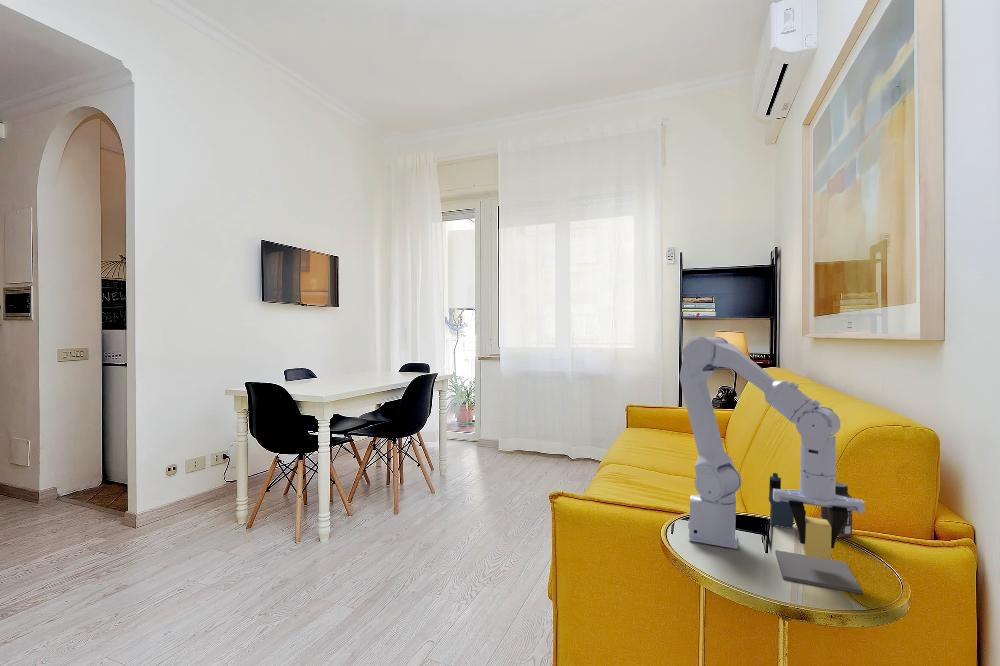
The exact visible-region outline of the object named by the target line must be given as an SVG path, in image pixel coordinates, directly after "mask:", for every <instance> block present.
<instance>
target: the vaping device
mask: <svg viewBox="0 0 1000 666" xmlns="http://www.w3.org/2000/svg"><path fill="white" fill-rule="evenodd" d="M773 489H782V478H781V477H780V476H779V473H777V472H773V473H772V475H770V476H769V490H768V501H769V503H770V505H769V512H770V513H769V523H770V522H771V524H772V525H771V524H770V525H771V526H774V525H778V526H777V527H780V526H783V527H782V528H787V527H792V528H793V526H794V524H795V523H794V522H795V519H794V516H793V513H792V511H791V509H790V506H789V504H788V502H785V501H780V502H777V501H774V500H773Z"/></svg>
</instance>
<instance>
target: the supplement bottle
mask: <svg viewBox="0 0 1000 666" xmlns="http://www.w3.org/2000/svg"><path fill="white" fill-rule="evenodd" d="M848 489H849V488H848V484H846V483H843V482H838V481H836V484H835V495H838V496H843V497H848V498H853V496H851V494H849V490H848ZM847 512H848V514H849V517H848V519H847V521H846V522H845V523H844V525H843V526H842V528H841V529H840V531H839V533H838V536H839V537H838V538H841V537H842V538H843V539H844V538H845V539H846V538H850V537H852V535H853V534H852V533H853V511H852V510H847ZM820 519H825V520H827V521H828V510H827V507H822V506H820Z"/></svg>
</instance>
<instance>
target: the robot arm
mask: <svg viewBox="0 0 1000 666" xmlns="http://www.w3.org/2000/svg"><path fill="white" fill-rule="evenodd" d="M681 353H682V362H681V367H680V372H679V381H680V386H681V390H682V393H683V394H682V395H683V397H684V401H685V402H684V403H685V406H686V409H687V414H688V418H689V422H690V425H691V430H692V434H693V438H694V441H695V446H696V450H697V453H698V456H697V459H696V461H695V464H694V471H695V478H694V486H695V487H694V488H695V489H696V491H697V493H698V494H696V495H695V494H690V498H689V519H688V522H687V529H689V530H688V531H689V532H688V534H689V535H688V541H690V542H695V543H701V544H706V545H712V546H717V547H718V546H719V547H724V548H730V549H734V550H737V549H739V544H738V537H737V535H738V534H736V524H737V523H736V518H737V517H736V515H737V514H736V511H737V510H736V509H737V496H736V492H738V490H739V489H740V488H741V486H742V477H741V474H740V472H739V471H738V470H737V469H736V466H735V465H734V463H733V460H732V458H731V456H730V455H729V454H728V453H727V452H725V448H724V445H723V440H722V436H721V433H720V430H719V425H718V422H717V417H716V414H715V409H714V406H713V402H712V399H711V395H710V389H709V385H708V382H707V381H708V380H709V378H710V376H711V375H712V374H713V373H714V371H715V370H716V369H718V368H719V367H720V368H727V369H731V370H733V371H734V372H736V373H737V374H738V375H740V377H743V378H744V379H745V380H746V381H747V382H749V383H751V384H752V385H753V386H754V387H756V388H757V389H759V390H760V391H762V393H764V399H765V400H764V401H765V402H766V403H767V404H769V405H770V406H771V407H772V408H773V409H775V410H776V411H777V412H778V413H779V414H780V415H782V416H783V417H784V418H786V419H787V420H788V421H790V423H792V424H795V427H796V431H797V433H798V434H799V435H800V448H799V449H800V452H799V453H800V456H799V457H800V459H799V461H800V462H799V489H783V488H781V489H773V500H774V501H777V502H780V501H785V502H788V504H789V506H790V509H791V511H792V513H793V516H794V522H795V525H796V529H797V534H798V540H799V543H800V544H801V545H802V544H805V517H807V516H806V514H807V511H806V509H805V505H809V506H817V507H821V506H822V507H827V510H828V522H829V524H830V525H831V527H832V528H831V549H835V544H836V540H837V538H838V537H837V536H838V533H839V531H840V529H841V528H842V526H843V525H844V523H845V522H846V521H847V519H848V517H849V514H848V512H847V510H852V512H857V513H858V514H859V513H860V514H865V512H866V511H865V510H866V508H865V504H866V503H865V501H863V499H860V498H853V497H852V498H848V497H843V496H838V495H835V484H836V482H837V481H836V479H837V473H836V472H837V449H836V448H837V445H836V443H837V441H836V440H837V437H836V436H835V435H836V434H837V433H838V432H839V431H840V429H841V420H840V417H839V416H838V415H837V414H836V412H835V411H834V410H833V409H832V408H831V407H828V406H823V405H822V406H820V405H821V404H822V403H821V402H820V401H819V400H817V399H812V398H811V397H809V396H808V395H807V394H806V393H804V392H803V391H801V390H800V389H798V388H799V384H797V383H796V382H794V381H792V382H789V380H787V379H786V380H785V379H782V380H777V379H775V378H774V377H773V376H772V375H770V374H769V373H768V372H767V371H765V369H763V368H762V367H761V366H760V365H758V364H757V363H756V362H755V361H753V360H752V359H751V358H750V357H749V356H748V355H746V354H745V353H744V352H743V351H741V350H740V349H739V348H738V347H737V346H736V345H735V344H732V343H730V342H729V341H728V340H726V339H725V338H724V337H721V336H714V337H708V336H694V337H692V338H691V339H689V340H688V341H687V343H686V344H685V346H684V347H683V348H682V349H681Z"/></svg>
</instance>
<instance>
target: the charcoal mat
mask: <svg viewBox="0 0 1000 666" xmlns="http://www.w3.org/2000/svg"><path fill="white" fill-rule="evenodd" d="M774 553H775V557H776V559H777V563H778V566H779V570H780V573H781V576H782V579H783V580H785V581H790V582H791V581H792V582H796V583H797V582H798V583H801V584H807V585H813V586H816V587H817V586H818V587H824V588H829V589H835V590H839V591H844V592H850V593H855V594H861V595H863V589H862V588H861V586H860V584H859V583H858V581H857V579H856V577H855V576H854V574H853V573H852V571H851V569H850V568H849V566H848V564H847V562H846V561H842V560H837V559H831V560H829V559H824V558H818V557H812V556H806V555H805V554H800V553H794V552H790V551H782V550H778V549H777V550H775V552H774Z"/></svg>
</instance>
